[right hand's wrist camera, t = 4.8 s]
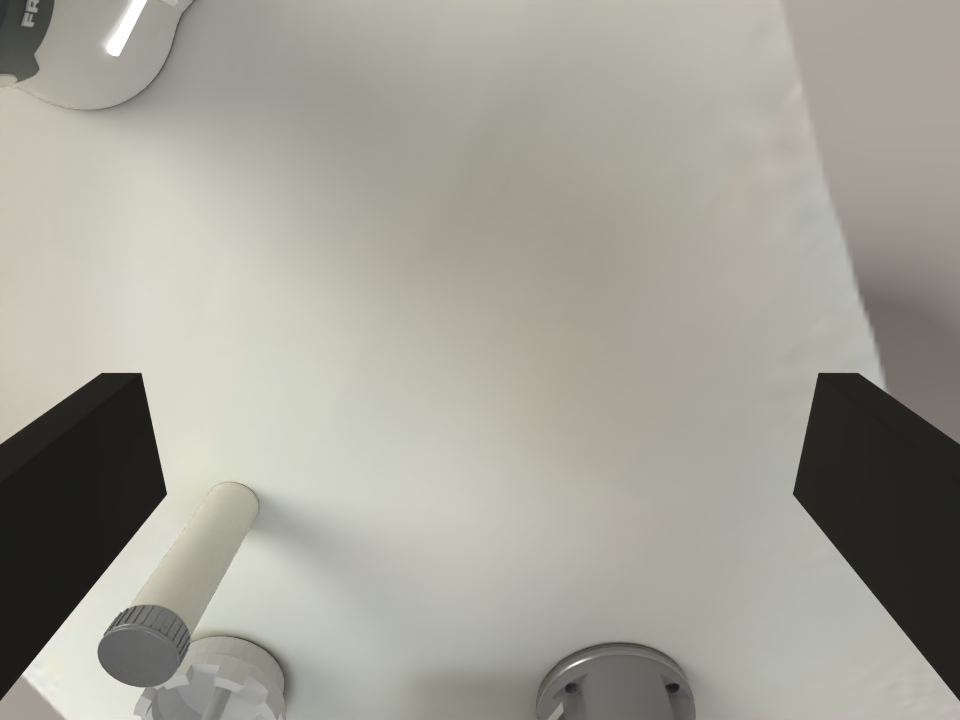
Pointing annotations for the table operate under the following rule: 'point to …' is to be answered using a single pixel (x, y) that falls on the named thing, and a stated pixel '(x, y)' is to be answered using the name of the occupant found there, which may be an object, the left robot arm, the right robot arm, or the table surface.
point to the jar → (201, 554)
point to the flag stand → (219, 685)
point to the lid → (144, 646)
